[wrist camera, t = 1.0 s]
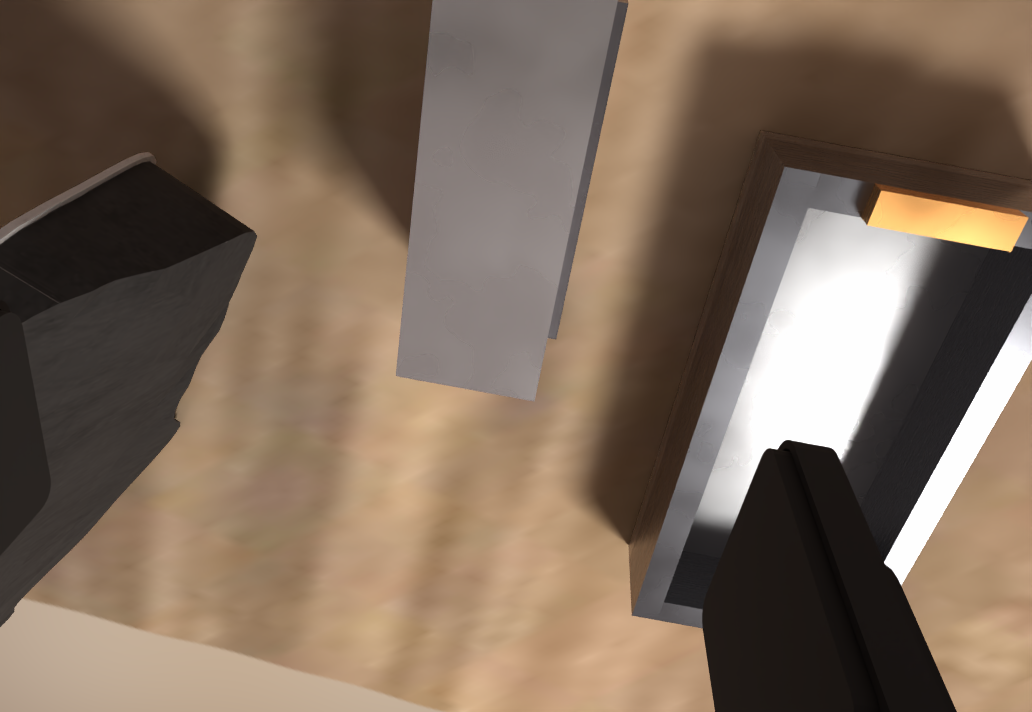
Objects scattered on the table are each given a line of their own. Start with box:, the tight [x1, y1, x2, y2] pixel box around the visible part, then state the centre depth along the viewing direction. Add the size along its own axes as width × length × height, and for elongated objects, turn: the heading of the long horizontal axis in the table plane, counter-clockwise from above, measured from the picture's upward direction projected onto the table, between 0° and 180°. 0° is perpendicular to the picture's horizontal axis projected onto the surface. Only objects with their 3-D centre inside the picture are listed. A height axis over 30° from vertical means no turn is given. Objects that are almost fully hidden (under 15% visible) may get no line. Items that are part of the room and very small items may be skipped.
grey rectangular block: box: [396, 0, 628, 401], centre depth 23 cm, size 4×12×7 cm, turn 171°
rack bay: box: [629, 130, 1032, 628], centre depth 28 cm, size 9×18×4 cm, turn 171°
